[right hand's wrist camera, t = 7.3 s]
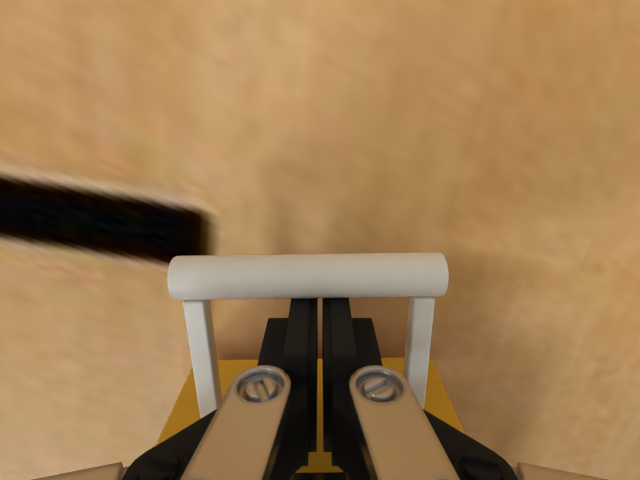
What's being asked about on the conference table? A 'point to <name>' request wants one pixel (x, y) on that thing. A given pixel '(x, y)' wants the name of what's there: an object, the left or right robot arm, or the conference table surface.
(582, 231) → the conference table surface
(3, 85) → the conference table surface
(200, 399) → the drawer
